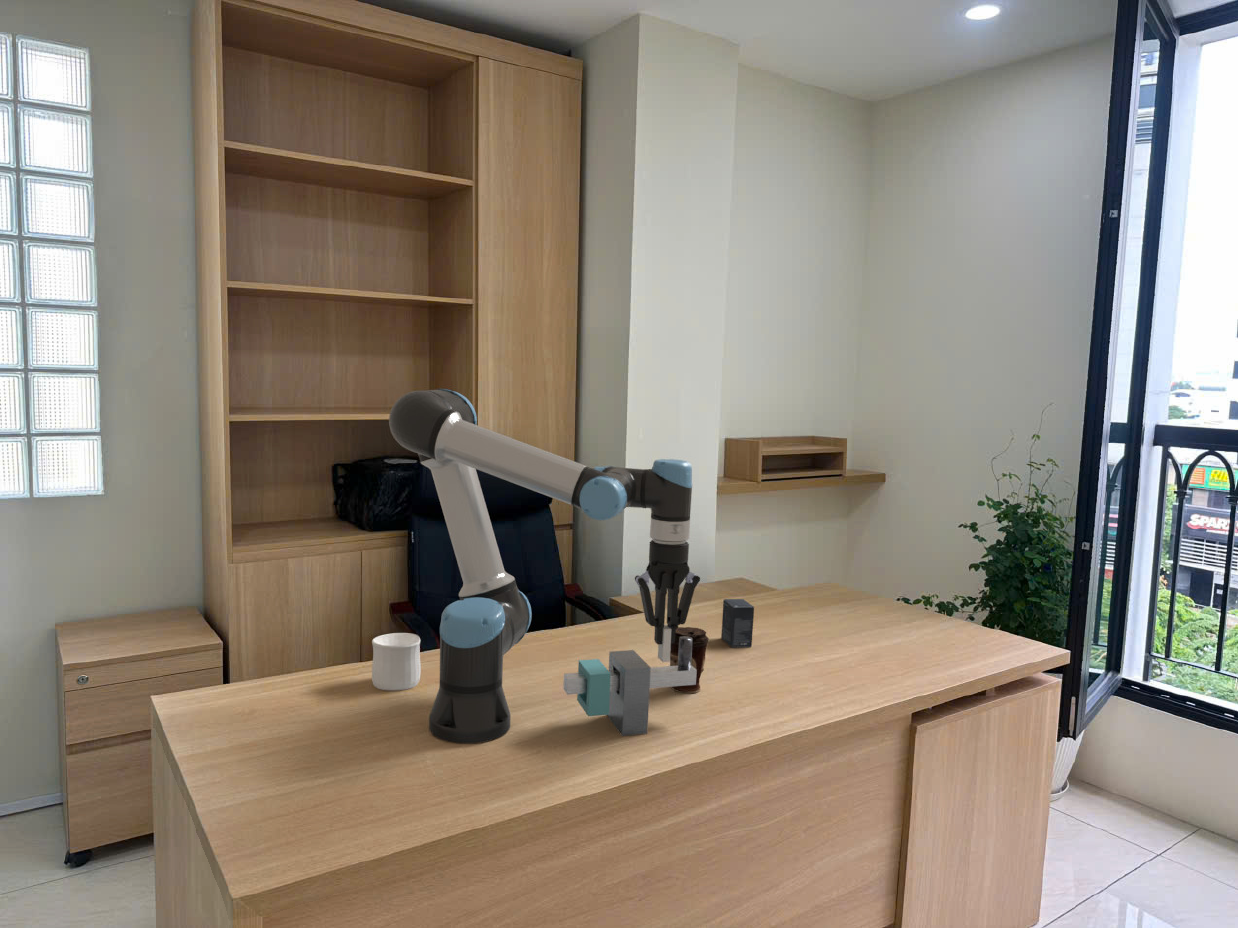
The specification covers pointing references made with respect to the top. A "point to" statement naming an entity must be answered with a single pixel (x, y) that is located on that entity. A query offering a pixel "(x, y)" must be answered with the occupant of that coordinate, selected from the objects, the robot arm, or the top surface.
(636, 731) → the bearing block
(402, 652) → the cup
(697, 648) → the coffee cup
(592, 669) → the spacer
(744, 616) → the box
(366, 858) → the top surface
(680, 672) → the shaft
